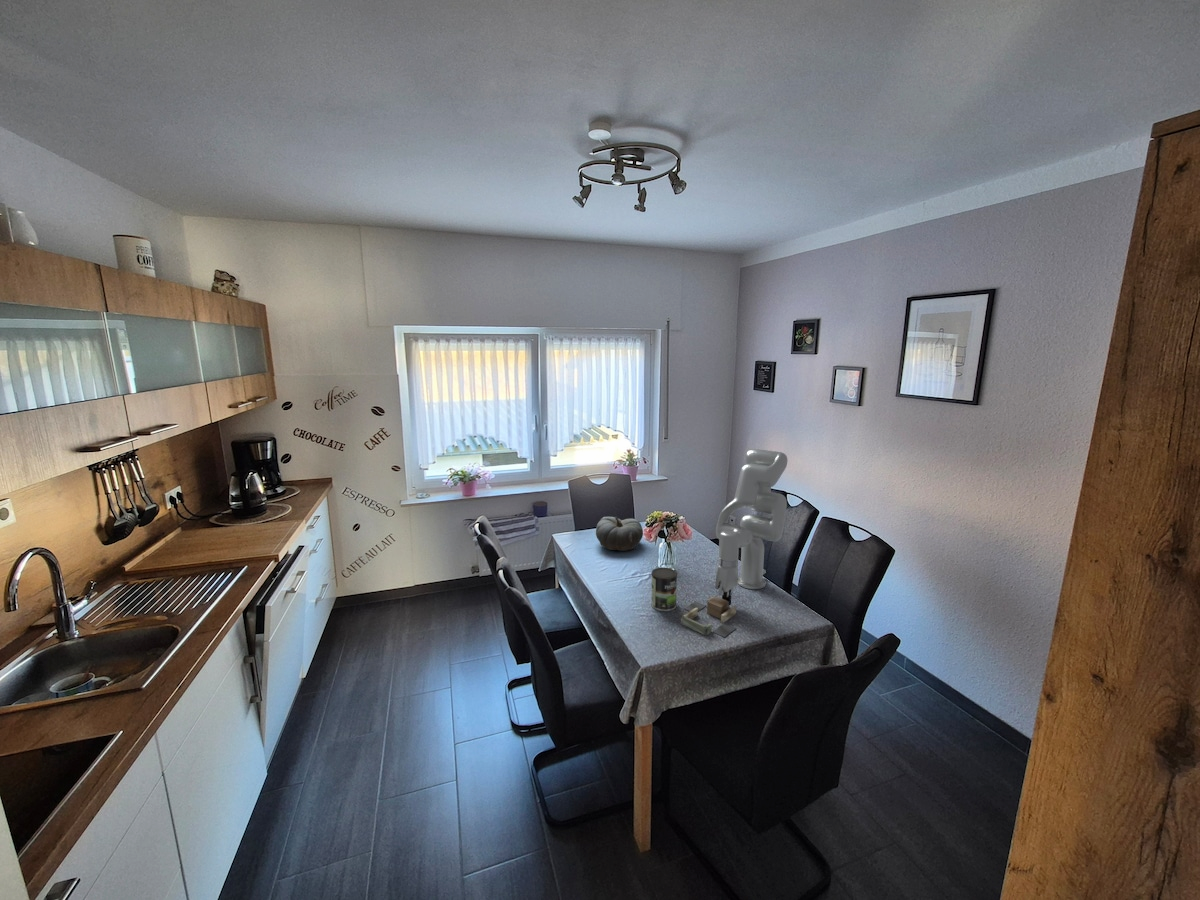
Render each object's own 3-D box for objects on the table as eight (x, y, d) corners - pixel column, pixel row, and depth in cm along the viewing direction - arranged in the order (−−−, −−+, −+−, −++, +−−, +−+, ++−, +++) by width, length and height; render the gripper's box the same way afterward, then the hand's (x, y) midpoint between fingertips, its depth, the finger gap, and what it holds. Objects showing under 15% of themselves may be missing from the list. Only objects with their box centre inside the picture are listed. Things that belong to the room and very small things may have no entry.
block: (715, 607, 193) (715, 596, 192) (728, 613, 189) (728, 601, 188) (706, 613, 189) (707, 601, 188) (720, 618, 184) (720, 607, 184)
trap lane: (700, 598, 199) (700, 592, 199) (748, 618, 184) (749, 611, 183) (669, 618, 185) (669, 611, 184) (719, 641, 170) (719, 634, 169)
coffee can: (681, 606, 194) (682, 573, 191) (663, 614, 188) (663, 581, 185) (664, 596, 202) (664, 565, 199) (645, 603, 196) (646, 571, 193)
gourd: (590, 534, 266) (595, 505, 261) (633, 537, 271) (639, 509, 266) (597, 556, 242) (603, 525, 237) (644, 560, 247) (651, 530, 243)
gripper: (729, 553, 197) (727, 594, 200) (709, 564, 187) (708, 607, 190) (746, 558, 192) (744, 600, 195) (726, 570, 181) (724, 614, 185)
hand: (726, 604), depth 193 cm, fingers closed
